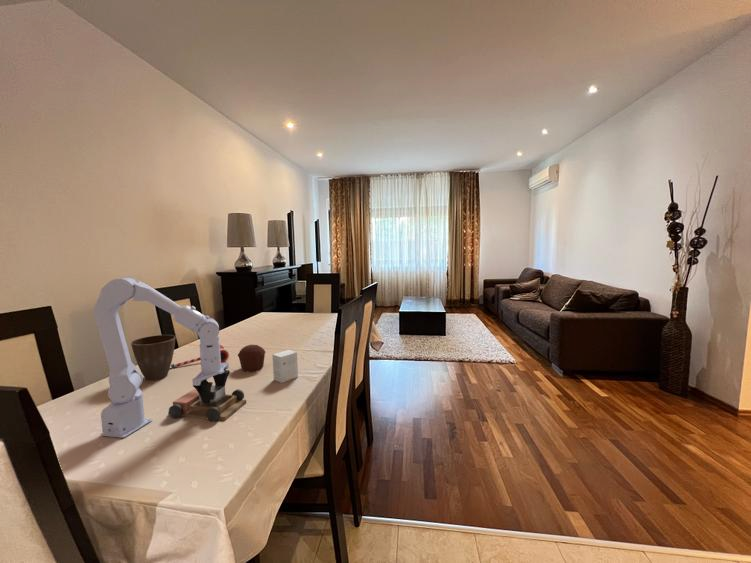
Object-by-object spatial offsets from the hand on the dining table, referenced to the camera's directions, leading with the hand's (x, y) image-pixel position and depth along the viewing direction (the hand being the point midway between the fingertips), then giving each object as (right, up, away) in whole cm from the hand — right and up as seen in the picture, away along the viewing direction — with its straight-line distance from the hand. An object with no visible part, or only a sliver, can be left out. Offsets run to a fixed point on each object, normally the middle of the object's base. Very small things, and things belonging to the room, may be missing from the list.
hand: (213, 397), depth 103 cm
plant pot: (-38, -2, +28) cm, 47 cm away
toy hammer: (-27, -1, +46) cm, 53 cm away
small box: (+17, -2, +25) cm, 30 cm away
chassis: (-2, -4, +1) cm, 4 cm away
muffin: (-2, -1, +37) cm, 37 cm away
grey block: (0, -3, 0) cm, 3 cm away
